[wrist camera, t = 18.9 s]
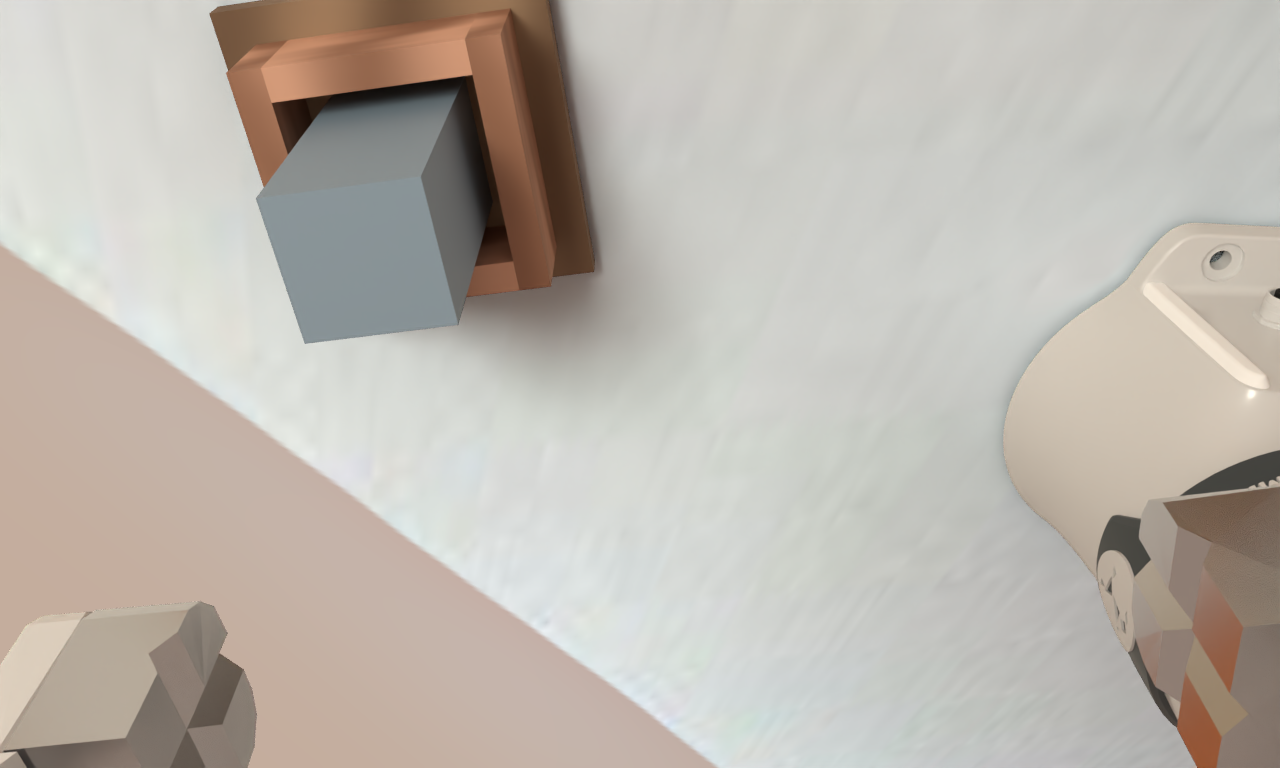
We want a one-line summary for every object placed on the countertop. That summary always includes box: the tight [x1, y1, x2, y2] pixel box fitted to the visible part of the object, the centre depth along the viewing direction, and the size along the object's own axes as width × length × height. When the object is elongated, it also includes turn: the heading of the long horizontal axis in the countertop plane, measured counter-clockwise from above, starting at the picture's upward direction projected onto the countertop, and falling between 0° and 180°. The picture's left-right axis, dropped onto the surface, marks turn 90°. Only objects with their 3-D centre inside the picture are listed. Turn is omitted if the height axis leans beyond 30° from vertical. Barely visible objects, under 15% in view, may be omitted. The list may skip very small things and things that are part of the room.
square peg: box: [256, 76, 493, 344], centre depth 39 cm, size 5×5×10 cm
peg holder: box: [210, 0, 595, 297], centre depth 42 cm, size 12×12×4 cm
